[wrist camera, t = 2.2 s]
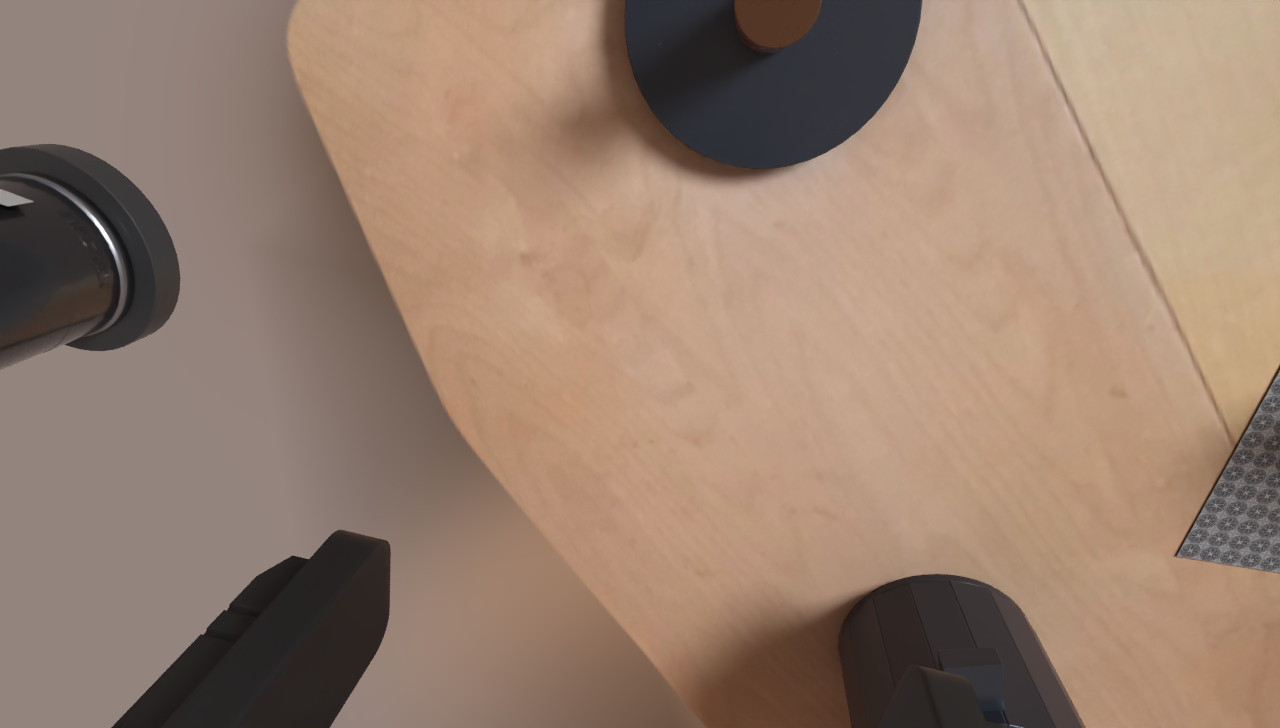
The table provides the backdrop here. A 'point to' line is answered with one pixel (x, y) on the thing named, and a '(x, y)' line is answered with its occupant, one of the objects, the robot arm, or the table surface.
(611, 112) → the table surface
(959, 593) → the pot
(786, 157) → the lid
